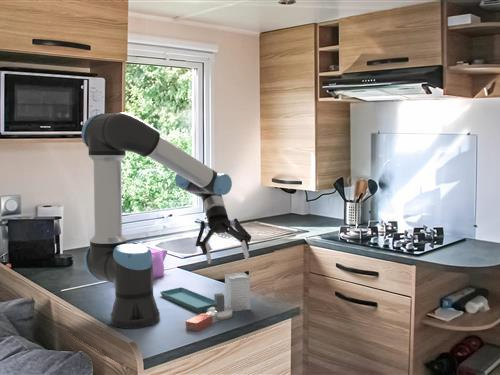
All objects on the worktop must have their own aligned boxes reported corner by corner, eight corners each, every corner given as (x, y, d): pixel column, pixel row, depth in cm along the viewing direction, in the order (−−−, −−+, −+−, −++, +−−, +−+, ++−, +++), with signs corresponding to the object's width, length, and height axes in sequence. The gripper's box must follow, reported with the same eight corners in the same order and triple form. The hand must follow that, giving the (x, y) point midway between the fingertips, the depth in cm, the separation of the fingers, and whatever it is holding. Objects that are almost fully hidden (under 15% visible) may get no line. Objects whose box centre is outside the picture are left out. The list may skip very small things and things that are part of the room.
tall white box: (231, 311, 191) (230, 278, 190) (225, 306, 197) (224, 274, 196) (250, 309, 193) (249, 276, 192) (243, 303, 199) (243, 272, 198)
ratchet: (202, 332, 172) (201, 309, 171) (180, 328, 176) (180, 305, 175) (237, 314, 188) (236, 293, 187) (216, 310, 192) (215, 290, 191)
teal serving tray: (159, 297, 210) (159, 290, 210) (181, 292, 216) (181, 285, 216) (197, 315, 189) (197, 307, 189) (221, 309, 195) (221, 302, 195)
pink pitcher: (116, 282, 231) (115, 251, 230) (128, 271, 248) (127, 242, 246) (159, 282, 230) (158, 251, 228) (168, 271, 246) (167, 242, 245)
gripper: (245, 214, 223) (260, 262, 210) (180, 219, 214) (192, 269, 202) (249, 202, 217) (265, 250, 205) (183, 206, 209) (195, 257, 196)
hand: (228, 259), depth 203 cm, fingers open, 13 cm apart
